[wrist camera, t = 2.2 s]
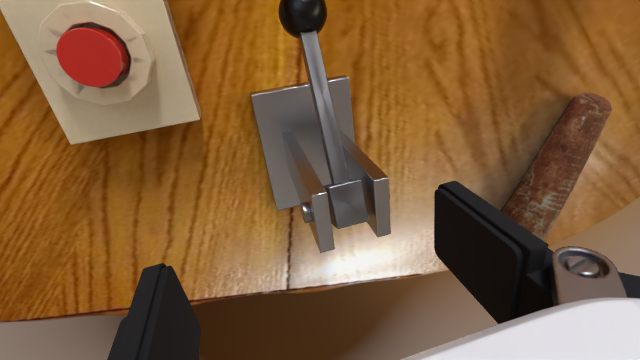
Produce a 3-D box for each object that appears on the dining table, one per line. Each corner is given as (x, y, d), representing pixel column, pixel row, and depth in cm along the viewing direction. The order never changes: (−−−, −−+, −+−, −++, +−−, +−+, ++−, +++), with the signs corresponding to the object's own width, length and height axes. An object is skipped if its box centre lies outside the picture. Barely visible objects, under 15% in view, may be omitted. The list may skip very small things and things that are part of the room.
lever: (273, 4, 23) (274, -23, 20) (317, -3, 24) (324, -30, 21) (323, 224, 24) (331, 232, 21) (364, 214, 25) (378, 219, 21)
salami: (482, 224, 44) (513, 249, 39) (567, 84, 38) (617, 94, 33) (515, 231, 46) (549, 256, 41) (600, 101, 40) (652, 112, 35)
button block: (-2, -31, 22) (-45, -40, 19) (152, -49, 24) (139, -60, 20) (81, 136, 28) (60, 153, 24) (202, 113, 29) (198, 126, 26)
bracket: (249, 92, 30) (264, 144, 18) (345, 75, 31) (419, 111, 19) (275, 205, 35) (300, 302, 23) (355, 186, 37) (417, 268, 25)
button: (57, 31, 22) (44, 32, 20) (115, 23, 22) (106, 23, 21) (82, 87, 23) (72, 91, 22) (136, 77, 24) (129, 82, 22)
